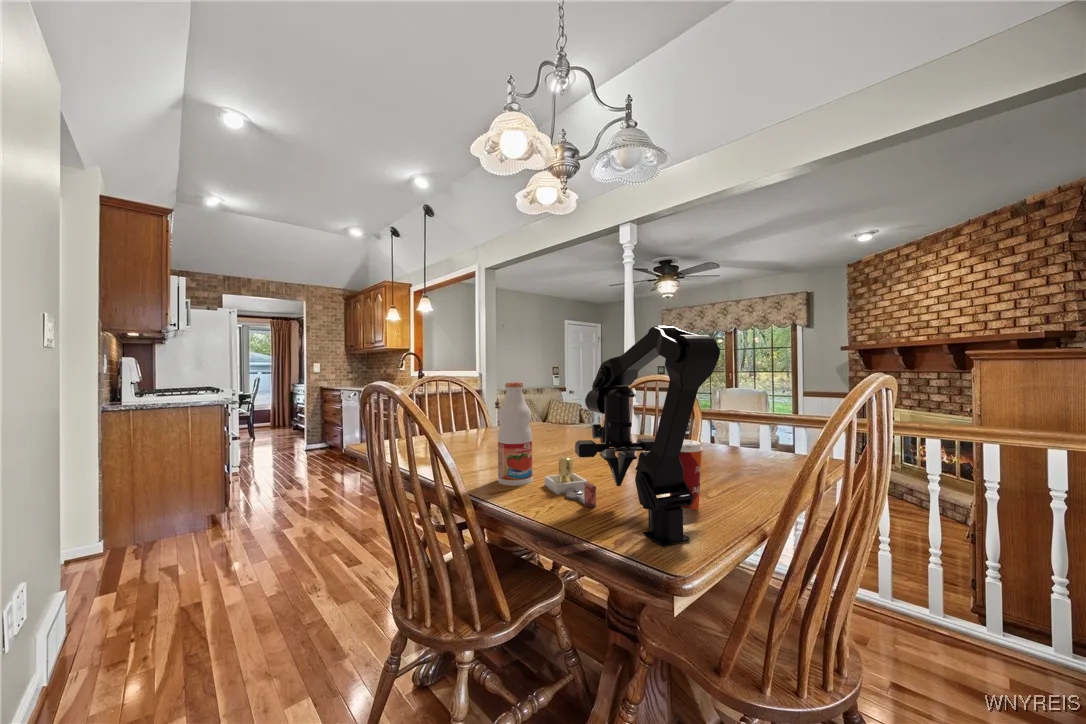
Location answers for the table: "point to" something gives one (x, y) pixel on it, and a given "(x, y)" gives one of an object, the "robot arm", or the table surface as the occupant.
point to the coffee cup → (691, 469)
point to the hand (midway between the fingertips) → (618, 485)
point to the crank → (584, 495)
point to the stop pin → (565, 470)
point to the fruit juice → (514, 438)
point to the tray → (564, 484)
